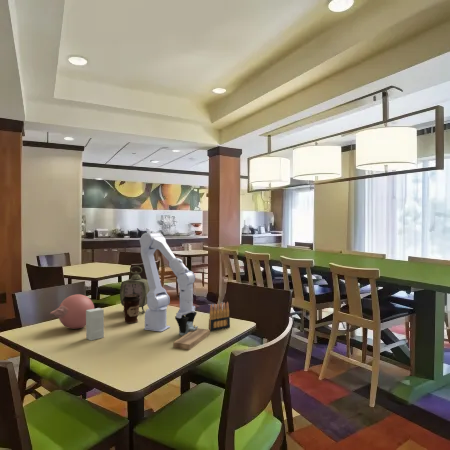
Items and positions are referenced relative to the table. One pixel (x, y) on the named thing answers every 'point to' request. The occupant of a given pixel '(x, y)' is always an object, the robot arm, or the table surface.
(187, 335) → the board
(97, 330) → the skincare box
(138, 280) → the tabletop clock
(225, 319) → the ammunition clip
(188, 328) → the grey stepped block
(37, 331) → the table surface
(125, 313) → the coffee cup
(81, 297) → the balloon
